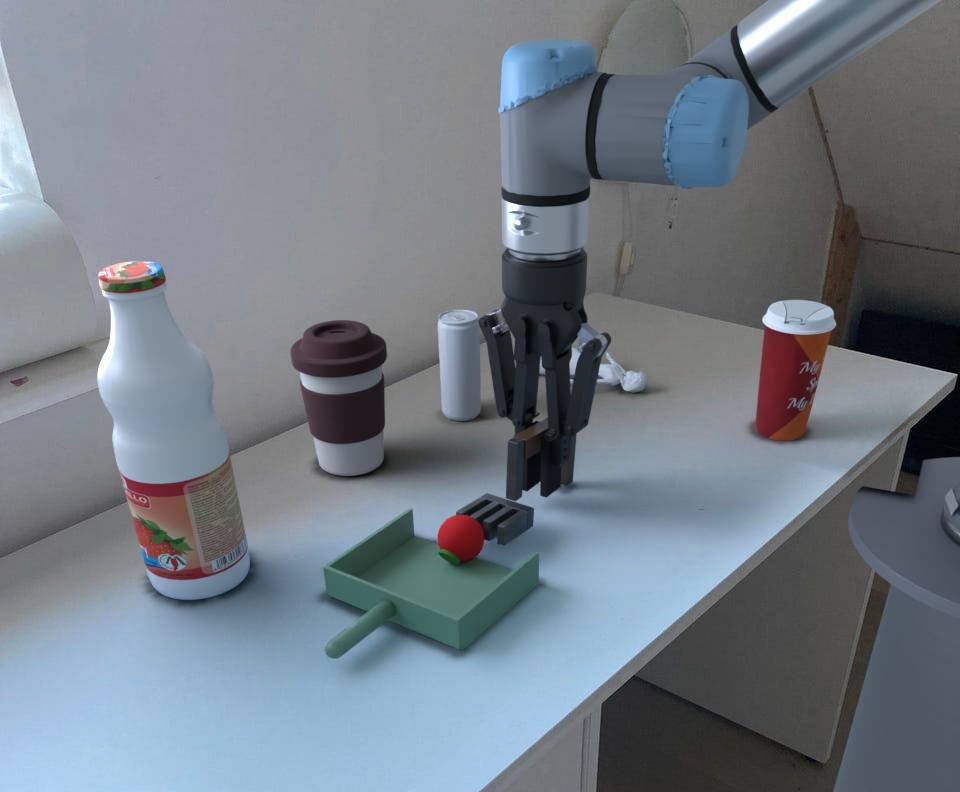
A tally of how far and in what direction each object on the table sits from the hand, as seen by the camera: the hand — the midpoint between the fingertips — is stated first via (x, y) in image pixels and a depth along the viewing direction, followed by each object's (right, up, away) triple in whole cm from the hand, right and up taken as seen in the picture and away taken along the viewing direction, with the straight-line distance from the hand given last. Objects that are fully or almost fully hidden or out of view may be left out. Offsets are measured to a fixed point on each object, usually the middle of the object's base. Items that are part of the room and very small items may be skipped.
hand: (540, 487), depth 100 cm
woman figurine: (+7, +18, +27) cm, 33 cm away
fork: (-2, -2, -1) cm, 3 cm away
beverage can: (-8, +12, +20) cm, 24 cm away
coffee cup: (-21, +4, +10) cm, 23 cm away
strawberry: (-8, -6, -8) cm, 13 cm away
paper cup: (+29, +9, +14) cm, 33 cm away
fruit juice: (-32, -9, -8) cm, 35 cm away
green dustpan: (-13, -13, -13) cm, 22 cm away
